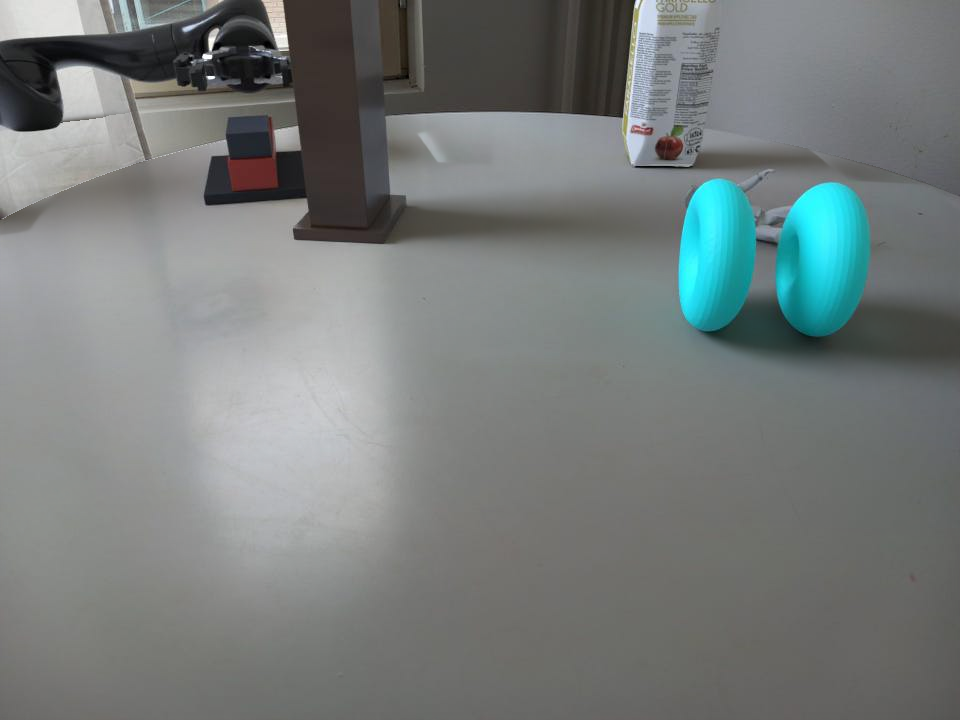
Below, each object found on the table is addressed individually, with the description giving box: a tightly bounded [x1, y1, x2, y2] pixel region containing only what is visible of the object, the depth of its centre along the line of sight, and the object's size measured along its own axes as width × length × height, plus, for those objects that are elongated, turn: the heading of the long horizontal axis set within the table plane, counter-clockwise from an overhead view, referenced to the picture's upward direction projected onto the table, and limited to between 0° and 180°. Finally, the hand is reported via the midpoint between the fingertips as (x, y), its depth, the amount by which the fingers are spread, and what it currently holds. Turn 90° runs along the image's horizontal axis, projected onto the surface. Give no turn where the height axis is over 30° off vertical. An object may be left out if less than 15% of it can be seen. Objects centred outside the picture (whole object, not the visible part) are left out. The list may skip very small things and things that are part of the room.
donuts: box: [678, 178, 871, 338], centre depth 49 cm, size 10×10×10 cm
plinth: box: [282, 0, 407, 244], centre depth 61 cm, size 10×8×31 cm
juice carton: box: [621, 0, 724, 165], centre depth 81 cm, size 8×9×19 cm
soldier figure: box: [684, 168, 793, 244], centre depth 64 cm, size 8×5×12 cm
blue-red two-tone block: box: [225, 114, 279, 191], centre depth 79 cm, size 18×4×6 cm, turn 14°
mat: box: [203, 150, 307, 206], centre depth 79 cm, size 14×10×1 cm
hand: (243, 79), depth 77 cm, fingers open, 8 cm apart
